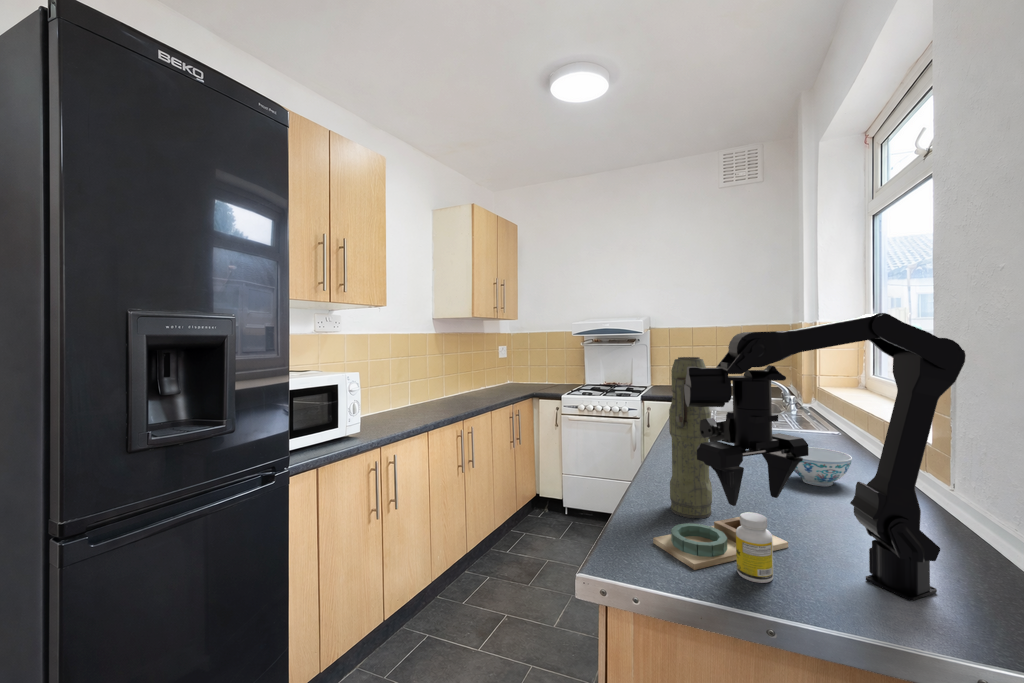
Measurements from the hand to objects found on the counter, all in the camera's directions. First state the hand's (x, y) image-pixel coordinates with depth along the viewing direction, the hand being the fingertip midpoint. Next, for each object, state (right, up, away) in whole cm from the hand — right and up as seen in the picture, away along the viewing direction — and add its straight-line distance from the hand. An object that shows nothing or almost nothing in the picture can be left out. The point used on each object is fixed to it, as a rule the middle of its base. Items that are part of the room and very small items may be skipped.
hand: (753, 501), depth 75 cm
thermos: (+1, -12, +28) cm, 30 cm away
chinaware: (+42, -12, +46) cm, 63 cm away
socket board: (-1, -12, +11) cm, 16 cm away
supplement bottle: (0, -13, 0) cm, 13 cm away
